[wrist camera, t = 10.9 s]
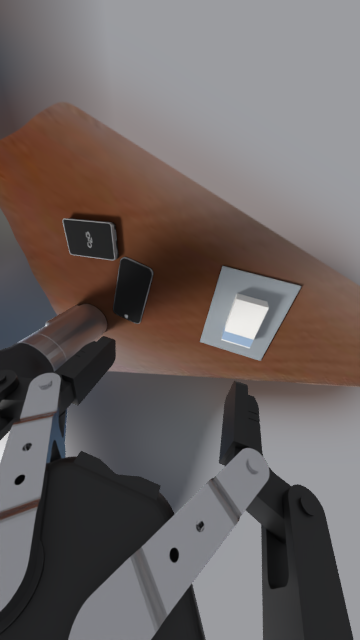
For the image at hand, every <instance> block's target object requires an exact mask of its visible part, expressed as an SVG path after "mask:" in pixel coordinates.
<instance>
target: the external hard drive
mask: <svg viewBox="0 0 360 640" xmlns="http://www.w3.org/2000/svg"><path fill="white" fill-rule="evenodd" d="M63 226H64V230H65V235H66V239H67V244H68V248H69V252H70V254H71V255H76V256H84V257H91V258H98V259H106V260H115V259H117V258H118V257H119V256H118V246H117V236H116V226H115V224H114V223H112V222H102V221H91V220H80V219H70V218H69V219H63Z"/></svg>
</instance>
